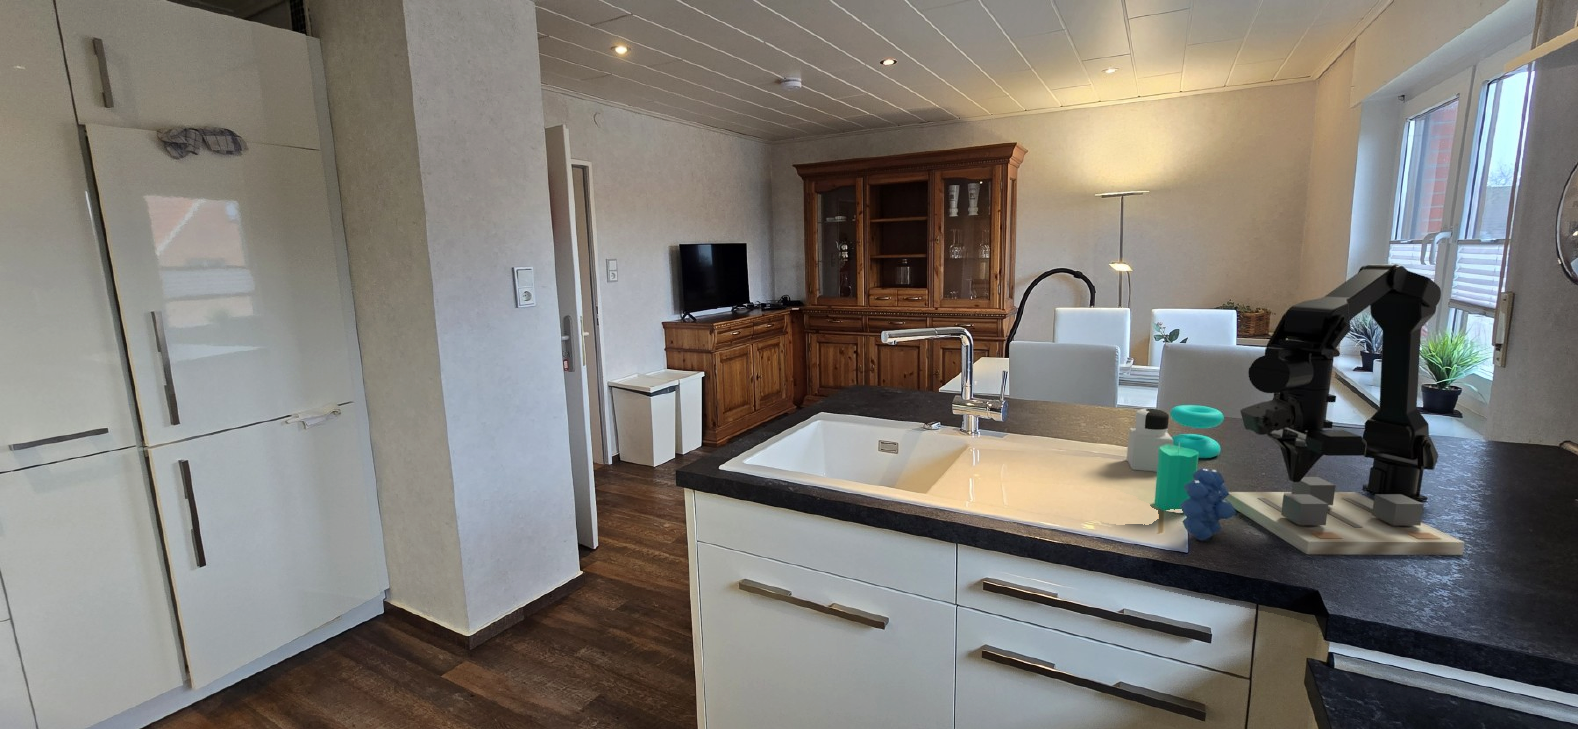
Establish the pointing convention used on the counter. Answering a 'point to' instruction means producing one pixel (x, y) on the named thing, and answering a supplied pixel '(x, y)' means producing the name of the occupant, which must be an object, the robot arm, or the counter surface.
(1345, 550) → the switch panel
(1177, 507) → the candle
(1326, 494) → the tab middle
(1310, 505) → the tab far
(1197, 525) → the grapes
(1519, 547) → the counter surface
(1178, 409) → the donuts
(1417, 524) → the grey boxy piece
